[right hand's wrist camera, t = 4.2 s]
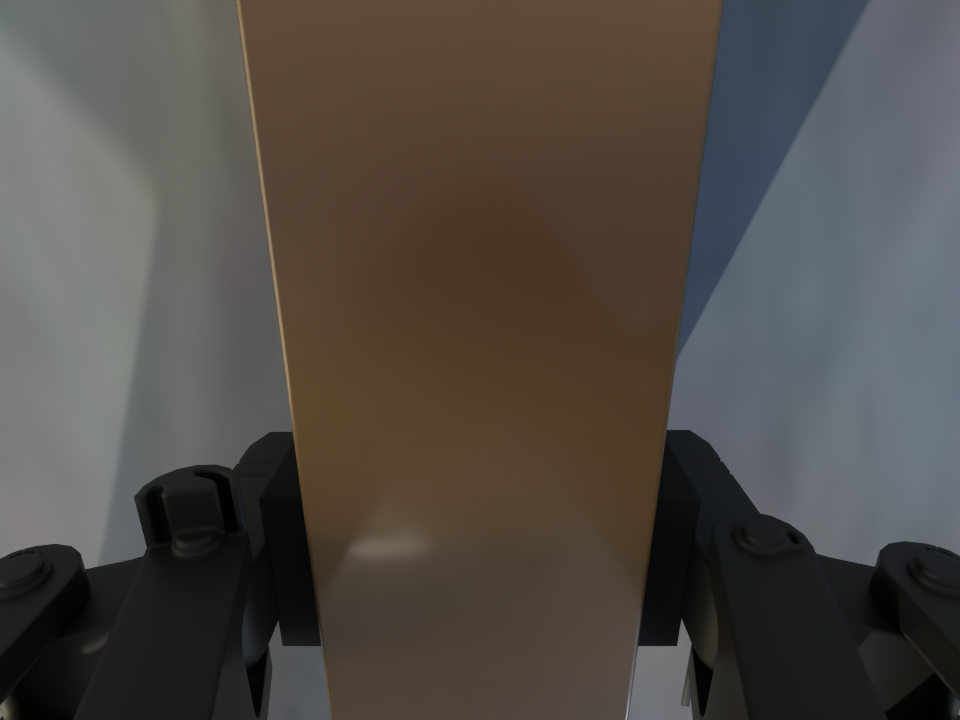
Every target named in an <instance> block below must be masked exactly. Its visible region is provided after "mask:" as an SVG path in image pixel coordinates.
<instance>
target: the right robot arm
mask: <svg viewBox="0 0 960 720" xmlns="http://www.w3.org/2000/svg"><path fill="white" fill-rule="evenodd" d="M134 499H135V502H136V506H137V510H138V514H139V518H140V522H141V526H142V530H143V533H144V537H145V541H146V545H147V549H146V551H145V554H144V556H143V557H139V558H136V559H132V560H128V561H123V562H119V563H114V564H109V565H104V566H99V567H95V568H90V569H85V567H84V564H83V560H82V557H81V554H80V553H79V552H78V551H77V550H75V549H74V548H73V547H72V546H66V545H59V544H51V545H42V546H35V547H30V548H26V549H25V550H19V551H16V552H13V553H11V554H9V555H7V556H5V557H3V558H1V559H0V711H1V713H2V718H1V719H0V720H267V716H268V706H269V696H270V687H271V677H272V663H271V657H270V651H269V645H268V644H269V642H270V639H271V637H272V634H273V632H274V629H275V627H276V624H277V622H278V620H279V626H280V632H281V638H282V644H283V646H321V640H320V632H319V625H318V617H317V610H316V602H315V595H314V587H313V580H312V572H311V565H310V557H309V550H308V542H307V535H306V527H305V520H304V512H303V505H302V497H301V490H300V482H299V474H298V467H297V459H296V452H295V444H294V437H293V432H270V433H268V434H267V435H265V436H264V437H262V438H261V439H259V440H258V441H256V442H255V443H253V444H252V445H250V447H249V448H248V450H247V451H246V452H245V454H244V455H243V456H242V458H241V459H240V463H239V464H237V465H236V466H235V468H234V469H233V470H231V469H230V468H227V467H223V466H219V465H196V466H191V467H186V468H181V469H177V470H175V471H172V472H169V473H167V474H164V475H162V476H159V477H157V478H156V479H154V480H153V481H151V482H150V483H148V484H146V485H145V486H143V488H142V489H141V490H140V491H139V492H138V493H137V495H136V496H135V497H134ZM681 618H682V620H683V623H684V625H685V627H686V630H687V632H688V635H689V637H690V640H691V642H692V645H691V651H690V657H689V662H688V668H687V673H686V679H685V685H684V690H683V696H682V703H681V705H683V706H688V707H689V703H690V698H691V705H692V714H693V720H960V716H959V715H958V712H959V710H960V556H959V555H957V554H954V553H953V552H951V551H949V550H946V549H943V548H940V547H936V546H933V545H929V544H924V543H915V542H906V541H903V542H897V543H890V544H888V545H887V546H885V547H884V548H883V549H882V550H880V552H879V555H878V559H877V562H876V565H875V567H873V566H868V565H863V564H858V563H853V562H849V561H844V560H839V559H834V558H830V557H826V556H822V555H819V554H816V553H815V550H814V548H813V546H812V545H811V543H810V542H809V541H808V539H807V538H806V537H805V535H804V534H802V533H801V532H800V531H798V530H797V529H795V528H794V527H793V526H791V525H790V524H788V523H786V522H784V521H781V520H779V519H777V518H775V517H772V516H769V515H764V514H760V513H759V511H758V510H757V509H756V507H755V506H754V504H753V503H752V502H751V500H750V499H749V497H748V496H747V495H746V493H745V492H744V491H743V489H742V488H741V486H740V485H739V484H738V482H737V481H736V479H735V478H734V477H733V475H730V471H729V470H728V468H727V467H726V466H725V464H724V463H723V462H721V461H720V457H719V456H718V455H717V453H716V452H715V450H714V449H713V448H712V446H711V445H710V444H709V443H708V442H707V441H705V440H704V439H702V438H701V437H699V436H697V435H696V434H694V433H693V432H691V431H690V430H667V432H666V439H665V447H664V454H663V462H662V469H661V477H660V484H659V492H658V499H657V507H656V514H655V522H654V529H653V537H652V544H651V552H650V559H649V567H648V574H647V582H646V589H645V597H644V604H643V612H642V619H641V627H640V634H639V642H638V646H677V642H678V635H679V629H680V623H681Z"/></svg>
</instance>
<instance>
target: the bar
mask: <svg viewBox="0 0 960 720" xmlns="http://www.w3.org/2000/svg"><path fill="white" fill-rule="evenodd" d="M235 1H236V8H237V16H238V23H239V31H240V38H241V46H242V53H243V61H244V69H245V76H246V84H247V91H248V99H249V106H250V114H251V121H252V129H253V136H254V144H255V151H256V159H257V166H258V174H259V181H260V189H261V196H262V204H263V211H264V219H265V226H266V234H267V241H268V249H269V256H270V264H271V271H272V279H273V287H274V294H275V302H276V309H277V317H278V324H279V332H280V339H281V347H282V354H283V362H284V369H285V377H286V384H287V392H288V399H289V407H290V414H291V422H292V429H293V437H294V444H295V452H296V459H297V467H298V474H299V482H300V490H301V497H302V505H303V512H304V520H305V527H306V535H307V542H308V550H309V557H310V565H311V572H312V580H313V587H314V595H315V602H316V610H317V617H318V625H319V632H320V640H321V647H322V655H323V662H324V670H325V677H326V685H327V693H328V700H329V708H330V715H331V720H628V717H629V709H630V702H631V694H632V687H633V679H634V672H635V664H636V657H637V649H638V642H639V634H640V627H641V619H642V612H643V604H644V597H645V589H646V582H647V574H648V567H649V559H650V552H651V544H652V537H653V529H654V522H655V514H656V507H657V499H658V492H659V484H660V477H661V469H662V462H663V454H664V447H665V439H666V432H667V424H668V417H669V409H670V402H671V394H672V387H673V379H674V372H675V364H676V357H677V349H678V342H679V334H680V327H681V319H682V312H683V304H684V297H685V289H686V282H687V274H688V267H689V259H690V252H691V244H692V237H693V229H694V222H695V214H696V207H697V199H698V192H699V184H700V177H701V169H702V162H703V154H704V147H705V139H706V132H707V124H708V116H709V109H710V101H711V94H712V86H713V79H714V71H715V64H716V56H717V49H718V41H719V34H720V26H721V19H722V11H723V4H724V0H235Z"/></svg>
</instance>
